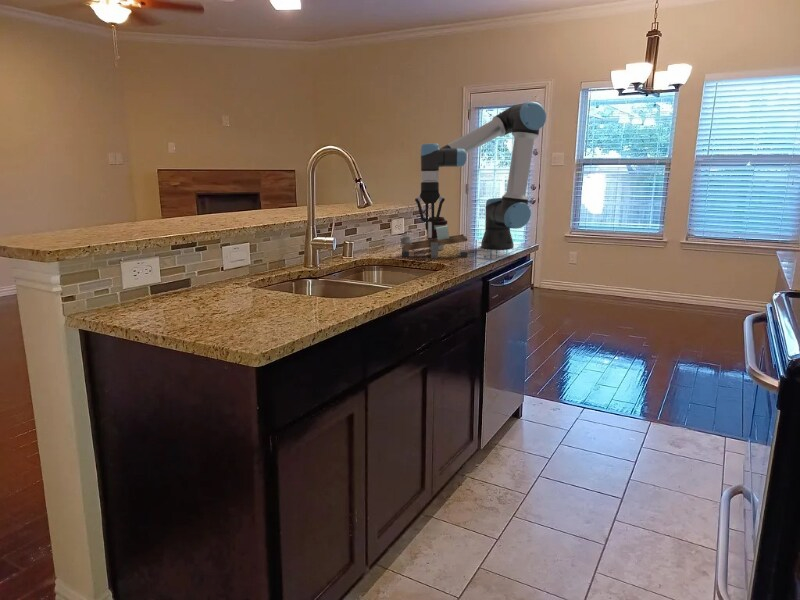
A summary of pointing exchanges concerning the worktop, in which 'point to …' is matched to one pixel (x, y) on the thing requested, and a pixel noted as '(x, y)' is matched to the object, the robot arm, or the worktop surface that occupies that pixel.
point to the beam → (429, 242)
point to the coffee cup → (434, 233)
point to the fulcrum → (435, 251)
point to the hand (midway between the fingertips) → (429, 237)
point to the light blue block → (442, 232)
